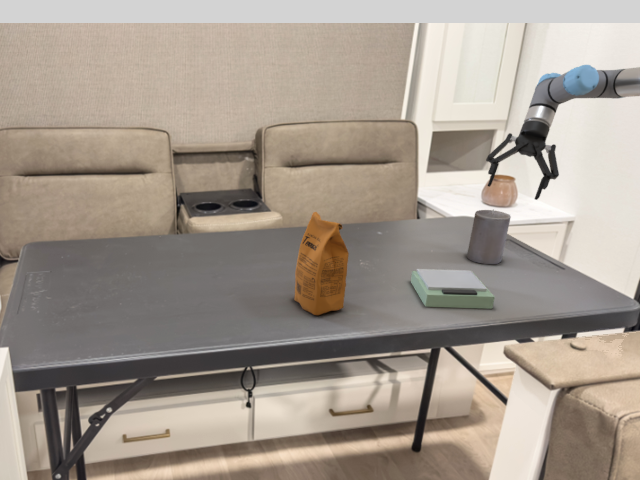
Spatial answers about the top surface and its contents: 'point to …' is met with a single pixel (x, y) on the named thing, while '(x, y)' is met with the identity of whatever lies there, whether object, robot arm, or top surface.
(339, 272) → the coffee package
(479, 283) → the scale
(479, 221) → the pillar candle
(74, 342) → the top surface
